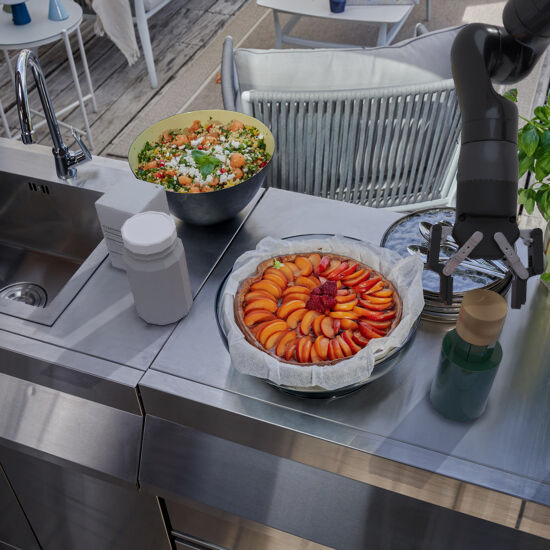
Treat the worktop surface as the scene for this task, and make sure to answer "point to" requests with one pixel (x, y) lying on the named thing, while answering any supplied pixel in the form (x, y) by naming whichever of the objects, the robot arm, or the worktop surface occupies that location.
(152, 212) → the jar
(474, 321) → the stopper
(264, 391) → the worktop surface
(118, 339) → the worktop surface
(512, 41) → the robot arm
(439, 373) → the flask
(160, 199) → the rectangular carton
